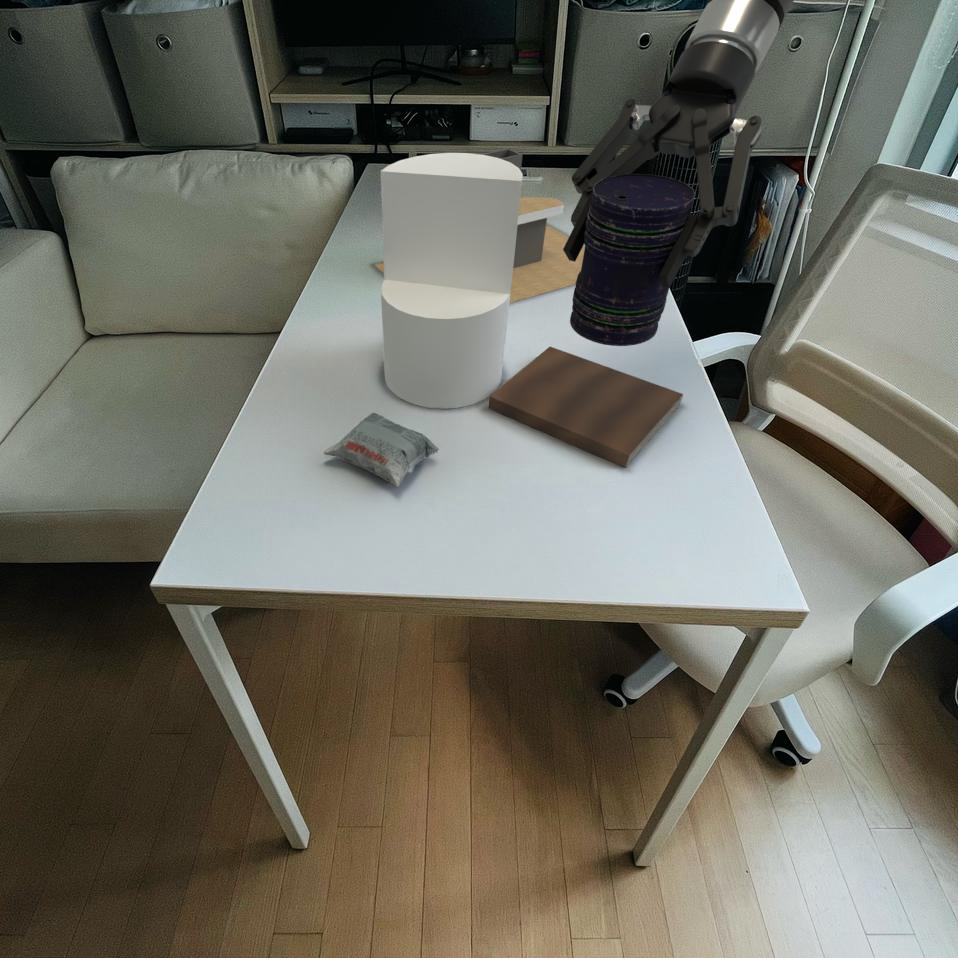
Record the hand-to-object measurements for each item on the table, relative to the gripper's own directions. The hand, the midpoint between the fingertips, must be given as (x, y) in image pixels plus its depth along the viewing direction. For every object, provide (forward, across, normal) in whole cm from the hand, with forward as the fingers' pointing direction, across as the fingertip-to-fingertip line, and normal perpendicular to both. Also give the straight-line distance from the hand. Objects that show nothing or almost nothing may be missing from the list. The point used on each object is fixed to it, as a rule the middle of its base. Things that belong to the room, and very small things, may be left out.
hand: (614, 268), depth 69 cm
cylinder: (+15, +23, -18) cm, 33 cm away
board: (+12, +3, -21) cm, 24 cm away
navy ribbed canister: (+4, 0, -8) cm, 9 cm away
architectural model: (-9, +36, -42) cm, 56 cm away
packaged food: (+30, +17, -3) cm, 35 cm away
